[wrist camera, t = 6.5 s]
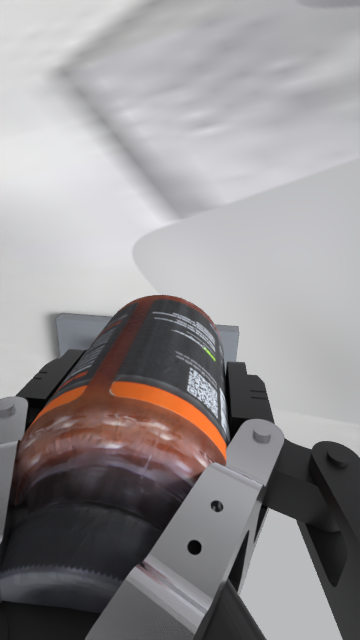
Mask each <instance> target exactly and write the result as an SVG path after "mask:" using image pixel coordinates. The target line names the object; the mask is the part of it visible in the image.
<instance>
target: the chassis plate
mask: <svg viewBox="0 0 360 640" xmlns="http://www.w3.org/2000/svg"><path fill="white" fill-rule="evenodd" d="M111 318H112V317H106V316H93V315H80V314H66V313H62V314H61V315H59V316H58V317H57V318H56V326H57V334H58V342H59V350H60V358H61V357H62V356H63V355H64V354H65V353H66V351H67V350H68V349H83V350H88V348H89V347H90V346H91V344H92V343H93V342H94V341H95V339H96V338H97V336H98V335H99V334H100V332H101V331H102V330H103V328H104V327H105V326H106V325H107V324H108V322H109V321H110V320H111ZM215 326H216V328H217V329H218V331H219V333H220V337H221V341H222V345H223V350H224V362H225V375H226V366H227V361H232V362H236V356H237V347H238V339H239V328H238V326H226V325H215Z"/></svg>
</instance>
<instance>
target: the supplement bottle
mask: <svg viewBox="0 0 360 640" xmlns="http://www.w3.org/2000/svg"><path fill="white" fill-rule="evenodd" d="M229 444H230V432H229V418H228V402H227V390H226V376H225V362H224V350H223V345H222V341H221V337H220V333H219V331H218V329H217V328H216V326H215V324H214V323H213V321H212V320H211V319H210V317H209V316H208V315H207V314H206V313H205V312H204V311H203V310H202V309H200V308H199V307H197V306H196V305H194V304H193V303H191V302H188V301H186V300H184V299H182V298H178V297H173V296H168V295H153V296H147V297H142V298H139V299H136V300H134V301H132V302H130V303H128V304H127V305H125V306H124V307H123V308H122V309H120V310H119V311H118V312H117V313H116V314H115V315H114V316H113V317H112V318H111V320H110V321H109V322H108V324H107V325H106V326H105V327H104V328H103V330H102V331H101V332H100V334H99V335H98V336H97V338H96V339H95V341H94V342H93V343H92V344H91V346H90V347H89V348H88V350H87V351H86V352H85V354H84V355H83V356H82V358H81V359H80V360H79V362H78V363H77V364H76V366H75V367H74V368H73V370H72V371H71V372H70V373H69V375H68V376H67V377H66V379H65V380H64V381H63V383H62V384H61V385H60V386H59V388H58V389H57V390H56V392H55V393H54V395H53V396H52V397H51V398H50V399H49V401H48V402H47V403H46V405H45V406H44V408H43V410H42V411H41V412H40V413H39V414H38V416H37V417H36V419H35V420H34V421H33V423H32V424H31V425H30V427H29V428H28V429H27V431H26V432H25V434H24V436H23V437H22V439H21V441H20V443H19V447H18V474H19V481H18V485H17V491H16V498H15V505H19V504H23V503H27V506H28V514H27V516H25V517H22V518H21V519H20V521H19V522H18V523H17V524H16V525H15V526H14V527H13V528H12V529H11V536H10V540H9V544H8V547H7V550H6V554H5V558H4V562H3V564H2V568H1V573H0V589H1V594H2V600H3V601H9V602H15V603H26V604H35V605H44V606H54V607H64V608H72V609H77V610H82V611H88V612H94V613H102V612H103V611H104V609H105V608H106V606H107V605H108V603H109V602H110V600H111V599H112V597H113V596H114V595H115V593H116V592H117V590H118V589H119V587H120V586H121V584H122V583H123V581H124V580H125V578H126V577H127V576H128V574H129V573H130V572H131V570H132V569H133V568H134V567H135V566H136V565H138V564H139V563H141V562H142V561H143V560H144V559H145V558H146V557H147V556H148V554H149V553H150V551H151V550H152V548H153V547H154V545H155V544H156V542H157V541H158V539H159V538H160V536H161V535H162V533H163V532H164V530H165V529H166V527H167V526H168V524H169V523H170V521H171V520H172V518H173V517H174V515H175V513H176V512H177V510H178V509H179V507H180V506H181V504H182V503H183V501H184V500H185V498H186V497H187V495H188V494H189V492H190V491H191V489H192V488H193V486H194V485H195V483H196V482H197V480H198V479H199V477H200V476H201V474H202V473H203V471H204V470H205V469H206V468H207V466H209V465H211V464H212V463H214V462H219V463H221V464H223V465H225V466H226V449H227V447H228V446H229Z"/></svg>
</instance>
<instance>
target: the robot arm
mask: <svg viewBox="0 0 360 640" xmlns="http://www.w3.org/2000/svg"><path fill="white" fill-rule="evenodd" d="M86 351H87V350H83V349H68V350H67V351H66V353H65V354H64V355H63V356H62V357H61V358H60V359H55V360H53V361H51V362H49V363H48V364H46V365H45V366H44V367H43V368H42V369H41V370H40V371H39V373H37V374H36V375H35V376H34V377H33V379H31V380H30V381H29V382H28V383H27V384H26V385H25V387H24V388H23V389H22V390H21V391H20V392H19V393H18V394H17V395H16V396H14V397H6V398H2V399H0V573H1V568H2V564H3V562H4V558H5V554H6V550H7V547H8V544H9V540H10V536H11V529H12V528H13V527H14V526H15V525H16V524H17V523H18V522H19V521H20V519H21V518H22V517H25V516H27V514H28V506H27V503H23V504H19V505H15V498H16V491H17V485H18V481H19V474H18V447H19V443H20V441H21V439H22V437H23V436H24V434H25V432H26V431H27V429H28V428H29V427H30V425H31V424H32V423H33V421H34V420H35V419H36V417H37V416H38V414H39V413H40V412H41V411H42V410H43V408H44V406H45V405H46V403H47V402H48V401H49V399H50V398H51V397H52V396H53V395H54V393H55V392H56V390H57V389H58V388H59V386H60V385H61V384H62V383H63V381H64V380H65V379H66V377H67V376H68V375H69V373H70V372H71V371H72V370H73V368H74V367H75V366H76V364H77V363H78V362H79V360H80V359H81V358H82V356H83V355H84V354H85V352H86ZM225 376H226V390H227V402H228V418H229V432H230V444H229V446H228V447H227V449H226V466H225V465H223V464H221V463H219V462H214V463H212V464H211V465H209V466H207V468H206V469H205V470H204V471H203V473H202V474H201V476H200V477H199V479H198V480H197V482H196V483H195V485H194V486H193V488H192V489H191V491H190V492H189V494H188V495H187V497H186V498H185V500H184V501H183V503H182V504H181V506H180V507H179V509H178V510H177V512H176V513H175V515H174V517H173V518H172V520H171V521H170V523H169V524H168V526H167V527H166V529H165V530H164V532H163V533H162V535H161V536H160V538H159V539H158V541H157V542H156V544H155V545H154V547H153V548H152V550H151V551H150V553H149V554H148V556H147V557H146V558H145V559H144V560H143V561H142V562H141V563H139V564H138V565H136V566H135V567H134V568H133V569H132V570H131V572H130V573H129V574H128V576H127V577H126V578H125V580H124V581H123V583H122V584H121V586H120V587H119V589H118V590H117V592H116V593H115V595H114V596H113V597H112V599H111V600H110V602H109V603H108V605H107V606H106V608H105V609H104V611H103V612H102V613H94V612H88V611H82V610H77V609H72V608H64V607H54V606H44V605H35V604H26V603H15V602H9V601H3V600H2V594H1V589H0V640H266V638H265V637H264V635H263V634H262V632H261V630H260V629H259V627H258V625H257V624H256V622H255V621H254V619H253V617H252V616H251V614H250V613H249V611H248V609H247V608H246V606H245V605H244V603H243V601H242V600H241V598H240V596H239V595H240V592H241V590H242V586H243V584H244V581H245V578H246V575H247V571H248V568H249V564H250V560H251V557H252V554H253V551H254V548H255V546H256V543H257V540H258V538H259V535H260V532H261V530H262V527H263V524H264V522H265V519H266V516H267V514H268V511H269V508H271V509H273V510H275V511H278V512H280V513H282V514H285V515H287V516H289V517H292V518H294V519H296V520H297V524H298V526H299V528H300V531H301V534H302V536H303V539H304V541H305V544H306V546H307V549H308V552H309V554H310V557H311V559H312V562H313V564H314V567H315V569H316V572H317V575H318V577H319V579H320V582H321V585H322V587H323V590H324V592H325V595H326V598H327V600H328V603H329V605H330V608H331V610H332V613H333V615H334V618H335V621H336V623H337V626H338V628H339V631H340V633H341V636H342V638H343V640H360V458H359V457H358V455H357V454H356V453H355V452H353V451H352V450H351V449H349V448H347V447H346V446H344V445H341V444H339V443H336V442H331V441H322V442H318V443H316V444H315V445H314V446H313V448H312V450H311V449H308V448H305V447H302V446H299V445H296V444H294V443H292V442H290V441H288V440H287V439H285V438H284V434H283V432H282V431H281V429H280V428H279V427H278V426H276V425H275V423H274V419H273V415H272V411H271V407H270V404H269V400H268V396H267V393H266V388H265V384H264V382H263V381H262V380H261V379H260V378H259V377H258V376H257V375H247V371H246V365H245V362H232V361H227V366H226V375H225Z"/></svg>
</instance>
